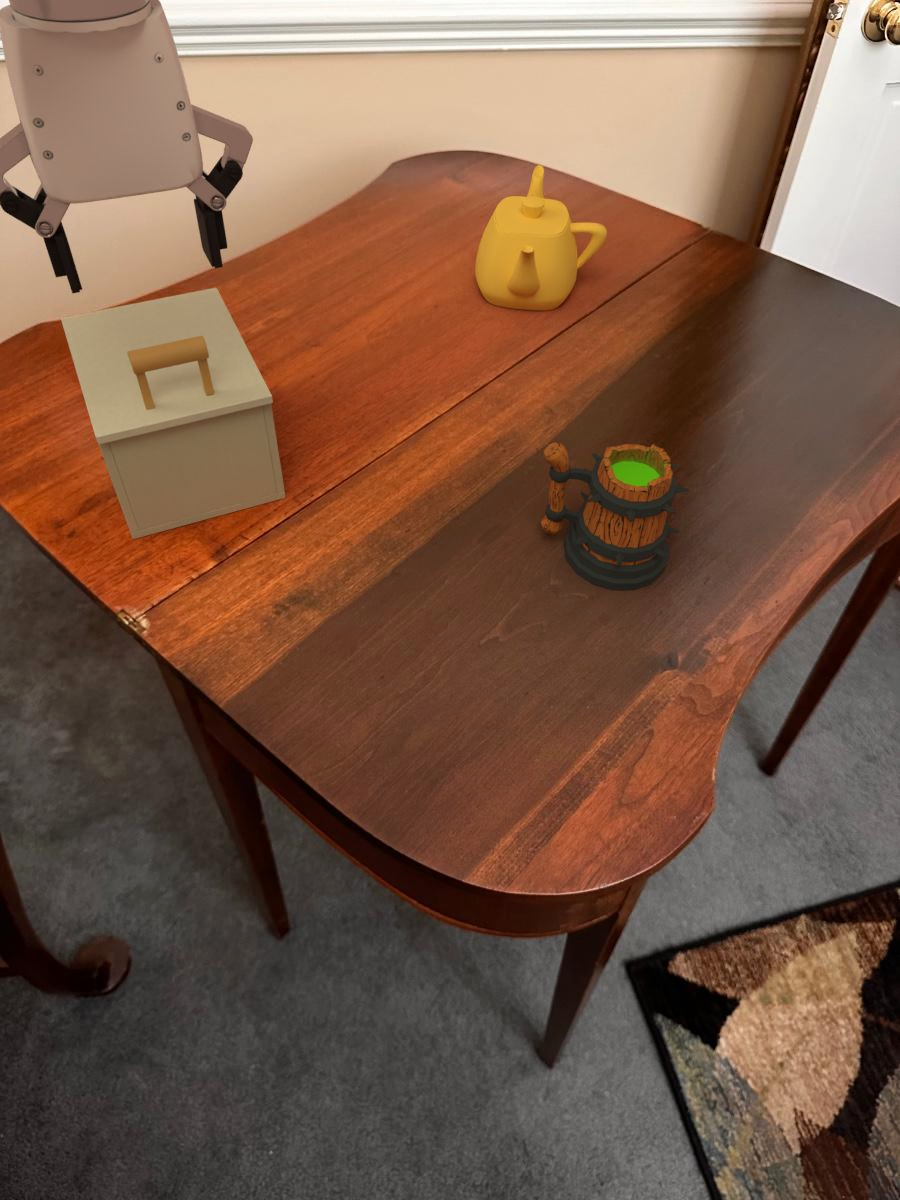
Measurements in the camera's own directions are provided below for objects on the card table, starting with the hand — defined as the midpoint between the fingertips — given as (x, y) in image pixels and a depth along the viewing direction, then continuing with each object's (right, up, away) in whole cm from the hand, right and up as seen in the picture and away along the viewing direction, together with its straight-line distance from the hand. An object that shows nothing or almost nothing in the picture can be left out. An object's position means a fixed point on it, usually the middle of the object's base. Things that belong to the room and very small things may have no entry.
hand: (145, 270), depth 61 cm
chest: (-5, -9, +26) cm, 28 cm away
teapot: (+32, +17, +49) cm, 61 cm away
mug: (+35, -19, +20) cm, 45 cm away
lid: (-4, -2, +16) cm, 17 cm away
